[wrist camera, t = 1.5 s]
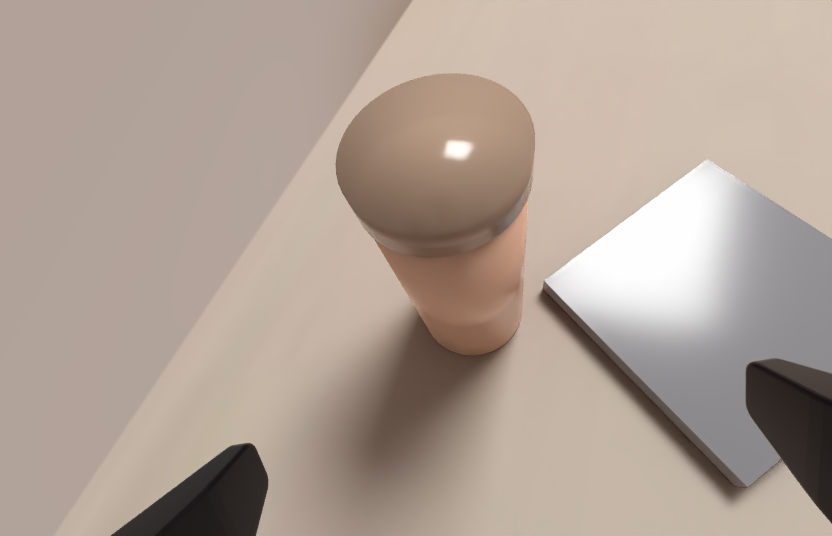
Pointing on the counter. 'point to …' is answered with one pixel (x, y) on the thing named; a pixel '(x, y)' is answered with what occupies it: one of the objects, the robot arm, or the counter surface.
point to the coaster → (705, 306)
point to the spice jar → (447, 200)
